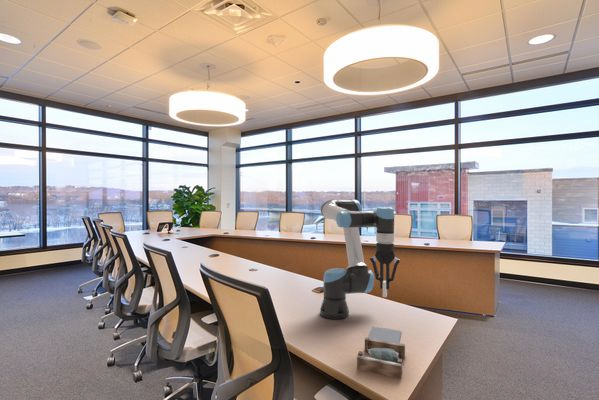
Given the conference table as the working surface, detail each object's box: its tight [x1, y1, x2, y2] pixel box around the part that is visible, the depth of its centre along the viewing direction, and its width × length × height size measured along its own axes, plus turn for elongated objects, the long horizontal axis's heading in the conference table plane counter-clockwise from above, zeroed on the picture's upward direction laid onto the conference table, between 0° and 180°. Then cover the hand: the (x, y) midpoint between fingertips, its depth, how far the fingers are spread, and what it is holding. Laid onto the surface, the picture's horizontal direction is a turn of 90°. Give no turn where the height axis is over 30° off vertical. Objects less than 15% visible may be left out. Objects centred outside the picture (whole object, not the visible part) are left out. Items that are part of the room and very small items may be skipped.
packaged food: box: [367, 348, 404, 366], centre depth 114 cm, size 9×12×5 cm
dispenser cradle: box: [356, 336, 406, 379], centre depth 116 cm, size 15×18×5 cm
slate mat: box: [367, 326, 402, 344], centre depth 137 cm, size 13×16×1 cm
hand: (384, 296), depth 137 cm, fingers closed
